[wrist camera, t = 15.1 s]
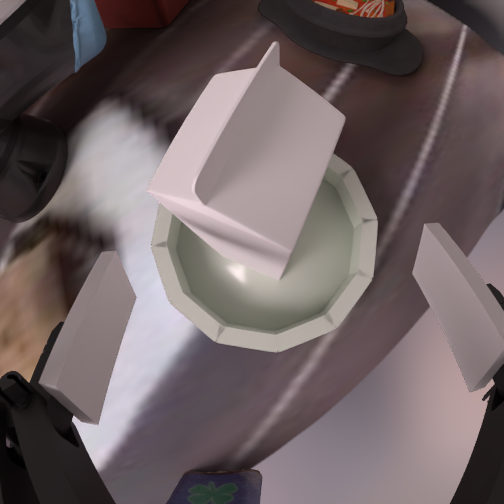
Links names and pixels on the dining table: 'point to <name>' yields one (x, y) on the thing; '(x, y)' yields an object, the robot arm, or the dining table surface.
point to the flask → (218, 488)
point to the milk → (250, 163)
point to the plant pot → (138, 12)
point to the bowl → (292, 280)
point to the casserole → (350, 31)
